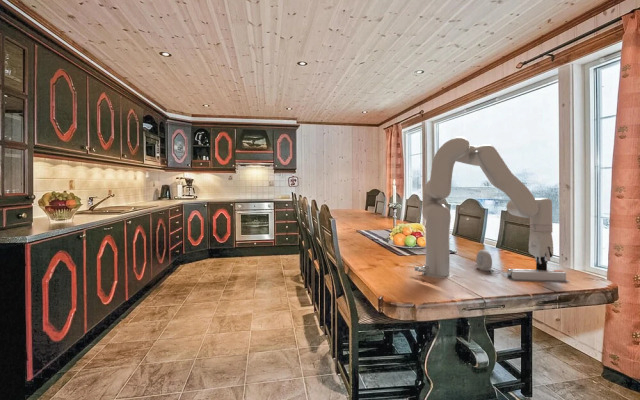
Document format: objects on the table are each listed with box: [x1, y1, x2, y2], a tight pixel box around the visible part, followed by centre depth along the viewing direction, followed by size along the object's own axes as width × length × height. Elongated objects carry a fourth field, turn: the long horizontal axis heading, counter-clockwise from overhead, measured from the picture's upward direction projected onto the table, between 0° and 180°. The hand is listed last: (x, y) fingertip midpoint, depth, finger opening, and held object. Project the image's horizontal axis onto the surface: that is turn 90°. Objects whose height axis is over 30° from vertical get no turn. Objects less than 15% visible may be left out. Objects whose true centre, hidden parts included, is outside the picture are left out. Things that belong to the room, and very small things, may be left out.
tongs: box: [499, 271, 570, 283], centre depth 129 cm, size 21×12×4 cm, turn 81°
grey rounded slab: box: [475, 249, 493, 272], centre depth 142 cm, size 10×4×10 cm, turn 179°
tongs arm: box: [506, 268, 564, 278], centre depth 127 cm, size 20×2×3 cm, turn 80°
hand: (541, 272), depth 129 cm, fingers closed
